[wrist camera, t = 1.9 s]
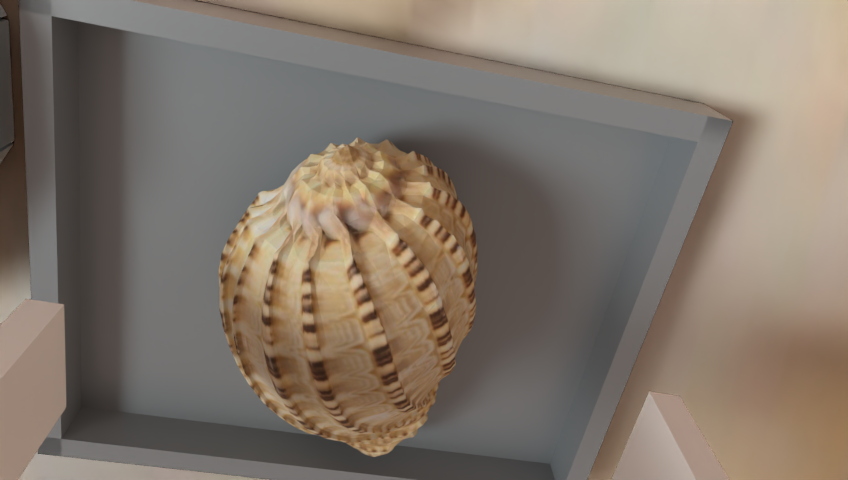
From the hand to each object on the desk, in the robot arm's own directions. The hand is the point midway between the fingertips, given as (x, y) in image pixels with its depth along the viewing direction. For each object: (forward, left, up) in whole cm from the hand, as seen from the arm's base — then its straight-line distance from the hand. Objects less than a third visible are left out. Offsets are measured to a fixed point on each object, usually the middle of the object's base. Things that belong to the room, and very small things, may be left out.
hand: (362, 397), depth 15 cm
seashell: (0, 0, -6) cm, 6 cm away
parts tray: (0, 0, -6) cm, 6 cm away
